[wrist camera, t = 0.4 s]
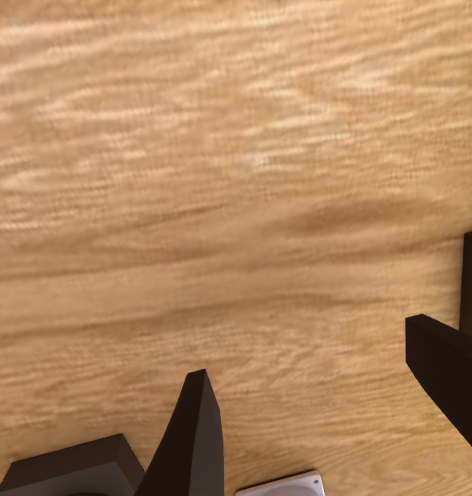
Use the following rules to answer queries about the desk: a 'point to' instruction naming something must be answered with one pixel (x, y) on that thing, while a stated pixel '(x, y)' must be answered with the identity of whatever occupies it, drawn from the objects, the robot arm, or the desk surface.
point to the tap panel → (466, 288)
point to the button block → (77, 471)
